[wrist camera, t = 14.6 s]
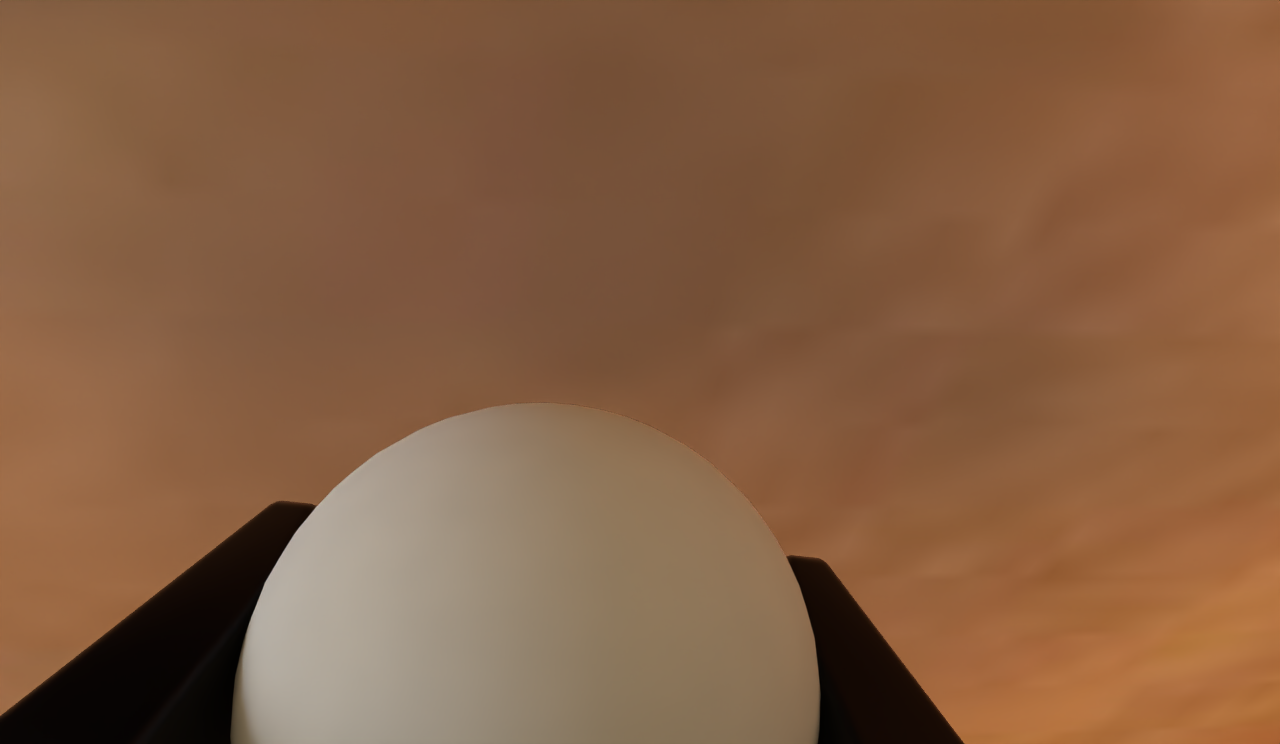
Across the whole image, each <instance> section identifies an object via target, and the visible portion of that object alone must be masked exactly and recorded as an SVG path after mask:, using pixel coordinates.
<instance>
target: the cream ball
mask: <svg viewBox="0 0 1280 744" xmlns="http://www.w3.org/2000/svg"><path fill="white" fill-rule="evenodd" d="M820 701H821V693H820V683H819V672H818V664H817V655H816V646H815V638H814V634H813V631H812V627H811V623H810V619H809V616H808V612H807V608H806V605H805V602H804V599H803V596H802V593H801V590H800V587H799V584H798V582H797V579H796V577H795V575H794V573H793V571H792V568H791V566H790V564H789V562H788V560H787V558H786V556H785V554H784V552H783V550H782V549H781V547H780V545H779V543H778V541H777V539H776V538H775V536H774V534H773V533H772V531H771V530H770V529H769V527H768V526H767V524H766V523H765V521H764V520H763V518H762V517H761V515H760V514H759V513H758V512H757V510H756V509H755V508H754V507H753V505H752V504H751V503H750V501H749V500H748V499H747V498H746V496H745V495H744V494H743V493H742V492H741V491H740V490H739V489H738V488H737V487H736V486H735V485H734V484H732V483H731V482H730V481H729V480H728V479H727V478H726V477H725V476H724V475H723V474H722V473H721V472H720V471H719V470H718V469H717V468H716V467H714V466H713V465H712V464H711V463H710V462H709V461H708V460H706V459H705V458H703V457H702V456H701V455H699V454H698V453H696V452H695V451H693V450H692V449H691V448H689V447H688V446H686V445H684V444H683V443H681V442H679V441H677V440H675V439H673V438H672V437H670V436H668V435H666V434H664V433H662V432H661V431H659V430H657V429H655V428H653V427H651V426H649V425H646V424H644V423H641V422H639V421H636V420H634V419H631V418H629V417H626V416H623V415H619V414H615V413H612V412H608V411H605V410H601V409H596V408H590V407H585V406H579V405H573V404H559V403H516V404H509V405H502V406H495V407H489V408H485V409H481V410H477V411H473V412H469V413H465V414H462V415H458V416H454V417H450V418H447V419H444V420H442V421H439V422H437V423H434V424H432V425H429V426H427V427H424V428H421V429H420V430H418V431H416V432H414V433H412V434H411V435H409V436H407V437H405V438H403V439H402V440H400V441H398V442H396V443H394V444H393V445H391V446H389V447H387V448H385V449H384V450H382V451H380V452H378V453H377V454H375V455H374V456H373V457H372V458H370V459H369V460H368V461H366V462H365V463H364V464H362V465H361V466H360V467H358V468H357V469H356V470H355V471H353V472H352V473H351V474H350V475H349V476H348V477H346V478H345V479H344V480H343V481H342V482H341V483H339V484H338V485H337V486H336V487H335V488H334V489H333V490H332V491H331V492H330V493H329V494H328V495H327V496H326V497H325V498H324V499H323V500H322V502H321V503H320V504H319V505H318V506H317V507H316V508H315V509H314V510H313V512H312V513H311V514H310V515H309V517H308V518H307V519H306V520H305V521H304V523H303V524H302V525H301V526H300V527H299V529H298V530H297V531H296V532H295V534H294V536H293V537H292V539H291V540H290V542H289V544H288V545H287V547H286V548H285V550H284V551H283V553H282V555H281V556H280V558H279V560H278V562H277V563H276V565H275V567H274V568H273V570H272V572H271V573H270V575H269V577H268V579H267V580H266V582H265V584H264V587H263V589H262V592H261V594H260V597H259V600H258V602H257V605H256V607H255V610H254V612H253V615H252V617H251V620H250V623H249V626H248V628H247V631H246V634H245V637H244V640H243V644H242V649H241V653H240V657H239V662H238V666H237V671H236V675H235V683H234V693H233V704H232V719H231V733H230V740H231V744H818V738H819V728H820Z"/></svg>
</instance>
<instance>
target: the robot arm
mask: <svg viewBox="0 0 1280 744" xmlns="http://www.w3.org/2000/svg"><path fill="white" fill-rule="evenodd" d="M316 507H317V506H316V505H313V504H308V503H298V502H289V501H278V502H275V503H273V504H271V505H269V506H268V507H267V508H265V509H264V510H263V511H262V512H260V513H259V514H258V515H256V516H255V517H254V518H253V519H251V520H250V521H249V522H248V523H246V524H245V525H244V526H242V527H241V528H240V529H239V530H237V531H236V532H235V533H233V534H232V535H231V536H230V537H228V538H227V539H226V540H225V541H223V542H222V543H221V544H219V545H218V546H217V547H216V548H214V549H213V550H212V551H210V552H209V553H208V554H207V555H205V556H204V557H203V558H202V559H200V560H199V561H198V562H196V563H195V564H194V565H193V566H191V567H190V568H189V569H188V570H186V571H185V572H184V573H182V574H181V575H180V576H179V577H177V578H176V579H175V580H173V581H172V582H171V583H170V584H168V585H167V586H166V587H165V588H163V589H162V590H161V591H159V592H158V593H157V594H156V595H154V596H153V597H152V598H150V599H149V600H148V601H147V602H145V603H144V604H143V605H142V606H140V607H139V608H138V609H136V610H135V611H134V612H133V613H131V614H130V615H129V616H127V617H126V618H125V619H124V620H122V621H121V622H120V623H119V624H117V625H116V626H115V627H113V628H112V629H111V630H110V631H108V632H107V633H106V634H104V635H103V636H102V637H101V638H99V639H98V640H97V641H96V642H94V643H93V644H92V645H90V646H89V647H88V648H87V649H85V650H84V651H83V652H81V653H80V654H79V655H78V656H76V657H75V658H74V659H73V660H71V661H70V662H69V663H67V664H66V665H65V666H64V667H62V668H61V669H60V670H59V671H57V672H56V673H55V674H53V675H52V676H51V677H50V678H48V679H47V680H46V681H44V682H43V683H42V684H41V685H39V686H38V687H37V688H36V689H34V690H33V691H32V692H30V693H29V694H28V695H27V696H25V697H24V698H23V699H21V700H20V701H19V702H18V703H16V704H15V705H14V706H13V707H11V708H10V709H9V710H7V711H6V712H5V713H4V714H2V715H1V716H0V744H231V740H230V733H231V719H232V704H233V693H234V683H235V675H236V671H237V666H238V662H239V657H240V653H241V649H242V644H243V640H244V637H245V634H246V631H247V628H248V626H249V623H250V620H251V617H252V615H253V612H254V610H255V607H256V605H257V602H258V600H259V597H260V594H261V592H262V589H263V587H264V584H265V582H266V580H267V579H268V577H269V575H270V573H271V572H272V570H273V568H274V567H275V565H276V563H277V562H278V560H279V558H280V556H281V555H282V553H283V551H284V550H285V548H286V547H287V545H288V544H289V542H290V540H291V539H292V537H293V536H294V534H295V532H296V531H297V530H298V529H299V527H300V526H301V525H302V524H303V523H304V521H305V520H306V519H307V518H308V517H309V515H310V514H311V513H312V512H313V510H314V509H315V508H316ZM786 558H787V560H788V562H789V564H790V566H791V568H792V571H793V573H794V575H795V577H796V579H797V582H798V584H799V587H800V590H801V593H802V596H803V599H804V602H805V605H806V608H807V612H808V616H809V619H810V623H811V627H812V631H813V634H814V638H815V646H816V655H817V664H818V672H819V683H820V693H821V701H820V728H819V738H818V744H964V743H963V741H962V740H961V739H960V738H959V736H958V735H957V734H956V732H955V731H954V730H953V728H952V727H951V726H950V724H949V723H948V722H947V720H946V719H945V718H944V717H943V715H942V714H941V713H940V711H939V710H938V709H937V707H936V706H935V705H934V703H933V702H932V701H931V699H930V698H929V697H928V695H927V694H926V693H925V692H924V690H923V689H922V688H921V686H920V685H919V684H918V682H917V681H916V680H915V678H914V677H913V676H912V674H911V673H910V672H909V671H908V669H907V668H906V667H905V665H904V664H903V663H902V661H901V660H900V659H899V657H898V656H897V655H896V653H895V652H894V651H893V649H892V648H891V647H890V646H889V644H888V643H887V642H886V640H885V639H884V638H883V636H882V635H881V634H880V632H879V631H878V630H877V628H876V627H875V626H874V625H873V623H872V622H871V621H870V619H869V618H868V617H867V615H866V614H865V613H864V611H863V610H862V609H861V607H860V606H859V605H858V603H857V602H856V601H855V600H854V598H853V597H852V596H851V594H850V593H849V592H848V590H847V589H846V588H845V586H844V585H843V584H842V582H841V581H840V580H839V578H838V577H837V576H836V575H835V573H834V572H833V571H832V569H831V568H830V567H829V565H828V564H827V563H826V562H824V561H823V560H821V559H819V558H812V557H802V556H793V555H790V556H787V557H786Z"/></svg>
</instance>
